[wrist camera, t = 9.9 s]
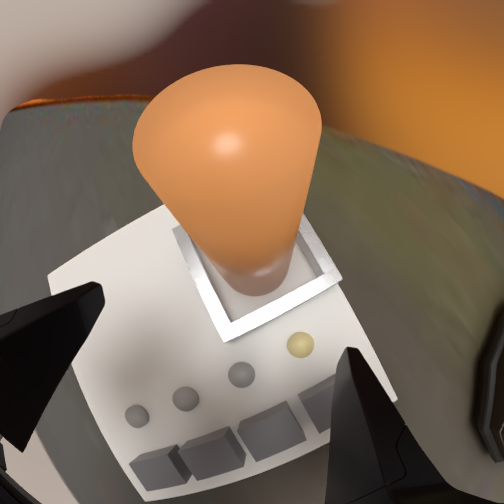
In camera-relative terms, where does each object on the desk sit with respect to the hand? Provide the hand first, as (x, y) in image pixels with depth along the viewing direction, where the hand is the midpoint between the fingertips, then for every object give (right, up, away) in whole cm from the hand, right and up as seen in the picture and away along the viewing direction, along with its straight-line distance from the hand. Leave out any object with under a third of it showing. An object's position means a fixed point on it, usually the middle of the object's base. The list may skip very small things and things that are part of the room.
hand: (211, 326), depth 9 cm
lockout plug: (+1, +2, +9) cm, 9 cm away
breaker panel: (-2, -4, +9) cm, 10 cm away
